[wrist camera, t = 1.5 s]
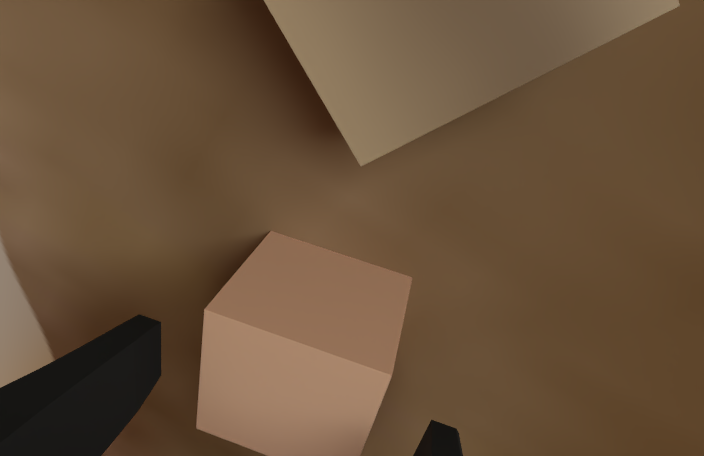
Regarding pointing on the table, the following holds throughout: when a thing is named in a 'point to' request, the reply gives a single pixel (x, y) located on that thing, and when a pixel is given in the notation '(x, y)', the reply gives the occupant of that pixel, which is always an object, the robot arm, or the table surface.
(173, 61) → the table surface
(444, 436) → the robot arm
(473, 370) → the table surface
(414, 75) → the slab upper
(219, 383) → the block
